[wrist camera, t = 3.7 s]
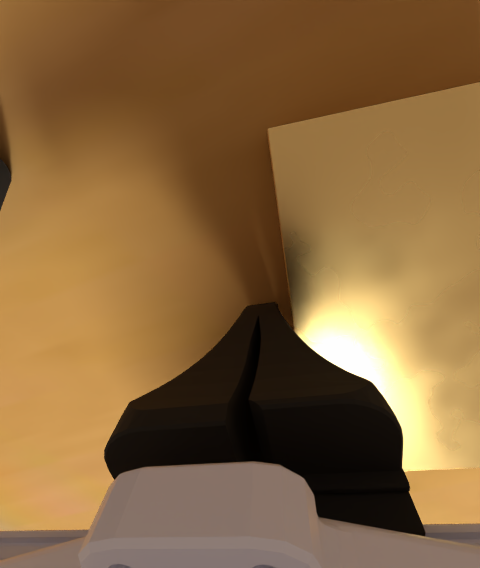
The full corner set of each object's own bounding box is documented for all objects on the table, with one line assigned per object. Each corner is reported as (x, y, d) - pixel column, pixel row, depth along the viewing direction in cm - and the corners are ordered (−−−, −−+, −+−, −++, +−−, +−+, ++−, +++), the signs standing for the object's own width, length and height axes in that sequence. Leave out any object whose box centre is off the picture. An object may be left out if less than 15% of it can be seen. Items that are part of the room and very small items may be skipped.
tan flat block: (487, 409, 14) (568, 504, 10) (306, 421, 16) (319, 509, 12) (558, 70, 9) (786, 9, 5) (267, 133, 10) (268, 124, 6)
